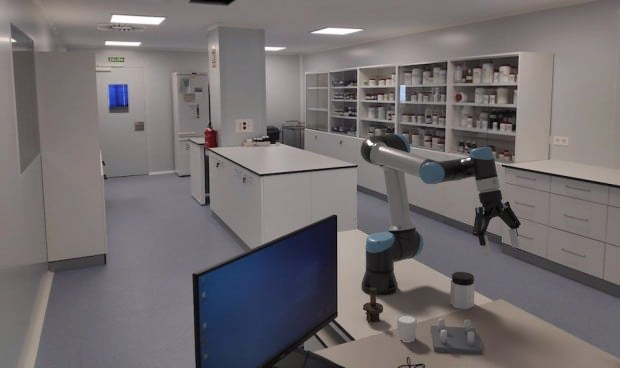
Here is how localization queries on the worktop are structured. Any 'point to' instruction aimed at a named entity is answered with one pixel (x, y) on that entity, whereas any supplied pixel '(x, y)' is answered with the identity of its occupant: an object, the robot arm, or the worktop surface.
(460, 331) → the pin plate
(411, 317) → the shot glass
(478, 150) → the robot arm
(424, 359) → the worktop surface
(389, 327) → the worktop surface
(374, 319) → the industrial component
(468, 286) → the jar
